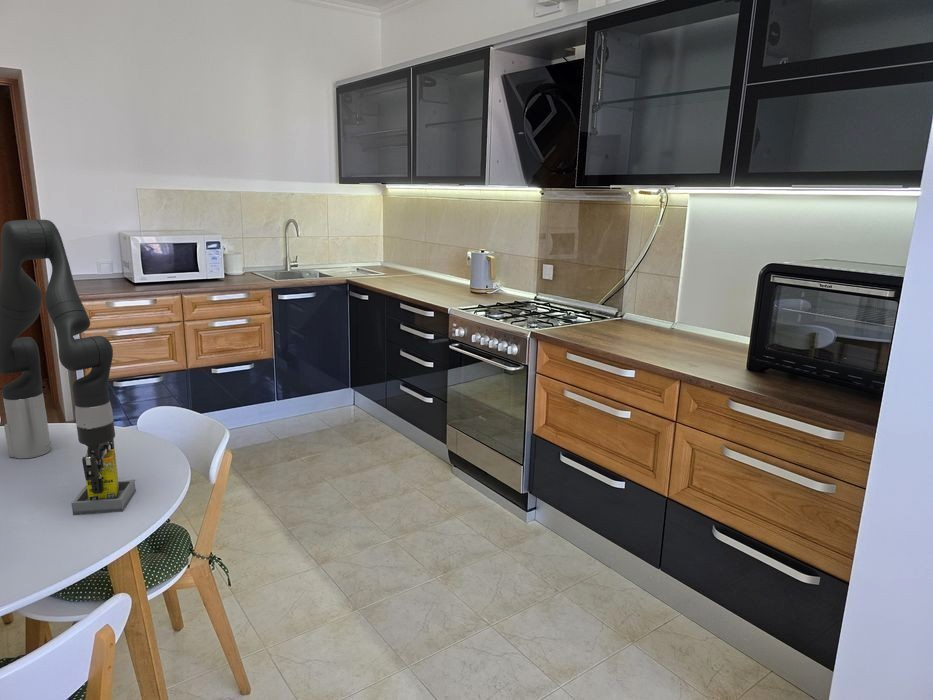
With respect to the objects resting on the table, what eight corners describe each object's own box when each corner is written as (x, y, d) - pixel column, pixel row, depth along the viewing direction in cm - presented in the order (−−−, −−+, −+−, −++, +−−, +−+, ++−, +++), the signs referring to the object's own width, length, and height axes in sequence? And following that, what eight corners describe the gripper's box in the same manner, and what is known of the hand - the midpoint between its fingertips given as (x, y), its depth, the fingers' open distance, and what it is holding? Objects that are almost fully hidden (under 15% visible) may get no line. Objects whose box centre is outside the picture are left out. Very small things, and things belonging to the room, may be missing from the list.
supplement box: (88, 504, 150) (83, 461, 147) (92, 493, 155) (86, 451, 152) (117, 500, 152) (112, 457, 149) (119, 489, 157) (114, 448, 154)
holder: (73, 515, 148) (71, 503, 147) (89, 494, 158) (88, 482, 157) (122, 511, 150) (121, 499, 149) (135, 490, 160) (134, 479, 159)
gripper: (88, 411, 155) (96, 474, 159) (65, 433, 141) (74, 501, 145) (122, 409, 156) (129, 472, 160) (101, 431, 142) (110, 499, 147)
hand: (103, 485), depth 153 cm, fingers closed on supplement box, 6 cm apart
